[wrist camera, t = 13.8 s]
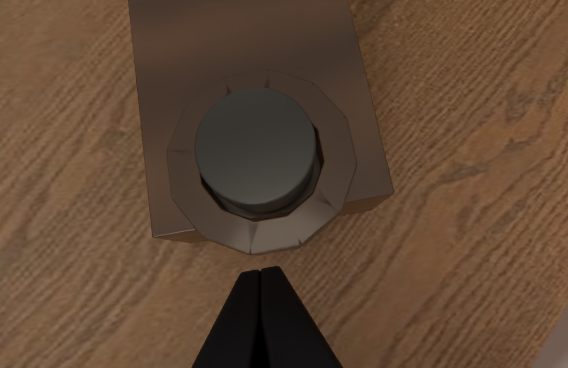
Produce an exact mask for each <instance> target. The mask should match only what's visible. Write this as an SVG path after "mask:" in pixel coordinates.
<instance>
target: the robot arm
mask: <svg viewBox="0 0 568 368" xmlns="http://www.w3.org/2000/svg"><path fill="white" fill-rule="evenodd" d="M191 368H343V367H342V365H341V364H340V362H339V360H338V359H337V357H336V356H335V354H334V352H333V351H332V349H331V348H330V346H329V344H328V343H327V341H326V340H325V338H324V336H323V335H322V333H321V332H320V330H319V329H318V327H317V325H316V324H315V322H314V321H313V319H312V317H311V316H310V314H309V313H308V311H307V309H306V308H305V306H304V305H303V303H302V301H301V300H300V298H299V297H298V295H297V293H296V292H295V290H294V289H293V287H292V285H291V284H290V282H289V281H288V279H287V277H286V276H285V274H284V273H283V271H282V269H281V268H280V267H279V266H274V267H269V268H263V269H262V270H261V272H260V271H259V270H252V271H246V272H242V273H241V274H240V275H239V277H238V279H237V281H236V283H235V284H234V286H233V288H232V290H231V292H230V294H229V296H228V298H227V300H226V302H225V304H224V306H223V308H222V310H221V311H220V313H219V315H218V317H217V319H216V321H215V323H214V325H213V327H212V329H211V331H210V333H209V335H208V337H207V338H206V340H205V342H204V344H203V346H202V348H201V350H200V352H199V354H198V356H197V358H196V360H195V362H194V364H193V365H192V367H191Z"/></svg>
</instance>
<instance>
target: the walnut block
mask: <svg viewBox="0 0 568 368" xmlns="http://www.w3.org/2000/svg"><path fill="white" fill-rule="evenodd" d="M128 4H129V14H130V23H131V33H132V43H133V53H134V63H135V72H136V82H137V92H138V102H139V111H140V121H141V131H142V141H143V150H144V160H145V170H146V180H147V190H148V199H149V209H150V219H151V229H152V237H153V238H159V239H166V240H173V241H180V242H187V243H194V242H199V241H205V240H210V241H213V242H215V243H218V244H221V245H223V246H226V247H229V248H231V249H234V250H237V251H239V252H242V253H245V254H247V255H257V256H259V255H264V254H270V253H275V252H281V251H286V250H292V249H297V248H301V246H302V247H303V246H305V245H306V244H307V243H308V242H309V241H310V240H312V239H313V238H314V237H315V236H316V235H317V234H319V233H320V232H321V231H322V230H323V229H324V228H325V227H327V226H328V225H329V224H330V223H331V222H332V221H334V220H335V219H336V218H337V217H338V216H343V215H348V214H354V213H359V212H365V211H370V210H372V209H373V208H375V207H376V206H377V205H379V204H380V203H382V202H383V201H384V200H386V199H387V198H389V197H390V196H391V195H393V194H394V189H393V185H392V181H391V177H390V172H389V168H388V164H387V160H386V156H385V152H384V148H383V144H382V139H381V135H380V131H379V127H378V123H377V119H376V115H375V110H374V106H373V102H372V98H371V94H370V90H369V86H368V81H367V77H366V73H365V69H364V65H363V61H362V57H361V53H360V48H359V44H358V40H357V36H356V32H355V28H354V24H353V19H352V15H351V11H350V7H349V3H348V0H128ZM257 87H261V88H268V89H272V90H276V91H279V92H281V93H284V94H285V95H287V96H289V97H291V98H292V99H293V100H295V101H296V102H297V103H298V104H299V105H300V106H301V107H302V108H303V109H304V111H305V112H306V113H307V115H308V117H309V118H310V120H311V123H312V125H313V128H314V132H315V137H316V152H315V160H314V168H313V172H312V176H311V178H310V181H309V183H308V185H307V186H306V188H305V190H304V191H303V192H302V193H301V194H300V195H299V196H298V197H297V198H296V199H295V200H294V201H293V202H291V203H290V204H288V205H286V206H284V207H282V208H280V209H277V210H273V211H269V212H252V211H247V210H243V209H240V208H238V207H236V206H234V205H232V204H231V203H229V202H228V201H227V200H225V199H224V198H223V197H222V196H220V195H219V194H218V193H216V192H215V191H214V190H213V189H212V188H211V187H210V186H209V185H208V184H207V183H206V181H205V180H204V179H203V177H202V175H201V173H200V171H199V169H198V166H197V163H196V159H195V151H194V145H195V137H196V132H197V130H198V127H199V124H200V122H201V120H202V118H203V117H204V115H205V114H206V112H207V111H208V110H209V109H210V108H211V107H212V106H213V105H214V104H215V103H216V102H217V101H218V100H220V99H221V98H223V97H224V96H226V95H228V94H230V93H232V92H235V91H237V90H241V89H245V88H257Z"/></svg>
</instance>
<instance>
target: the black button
mask: <svg viewBox="0 0 568 368" xmlns="http://www.w3.org/2000/svg"><path fill="white" fill-rule="evenodd" d="M194 151H195V159H196V163H197V166H198V169H199V171H200V173H201V175H202V177H203V179H204V180H205V181H206V183H207V184H208V185H209V186H210V187H211V188H212V189H213V190H214V191H215V192H216V193H218V194H219V195H220V196H222V197H223V198H224V199H225V200H227V201H228V202H229V203H231V204H232V205H234V206H236V207H238V208H240V209H243V210H247V211H252V212H269V211H273V210H277V209H280V208H282V207H284V206H286V205H288V204H290V203H291V202H293V201H294V200H295V199H296V198H297V197H298V196H299V195H300V194H301V193H302V192H303V191H304V190H305V188H306V186H307V185H308V183H309V181H310V178H311V176H312V172H313V168H314V160H315V152H316V137H315V132H314V128H313V125H312V123H311V120H310V118H309V117H308V115H307V113H306V112H305V111H304V109H303V108H302V107H301V106H300V105H299V104H298V103H297V102H296V101H295V100H293V99H292V98H291V97H289V96H287V95H285V94H284V93H281V92H279V91H276V90H272V89H268V88H261V87H257V88H245V89H241V90H237V91H235V92H232V93H230V94H228V95H226V96H224V97H223V98H221V99H220V100H218V101H217V102H216V103H215V104H214V105H213V106H212V107H211V108H210V109H209V110H208V111H207V112H206V114H205V115H204V117H203V118H202V120H201V122H200V124H199V127H198V130H197V132H196V137H195V145H194Z"/></svg>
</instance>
